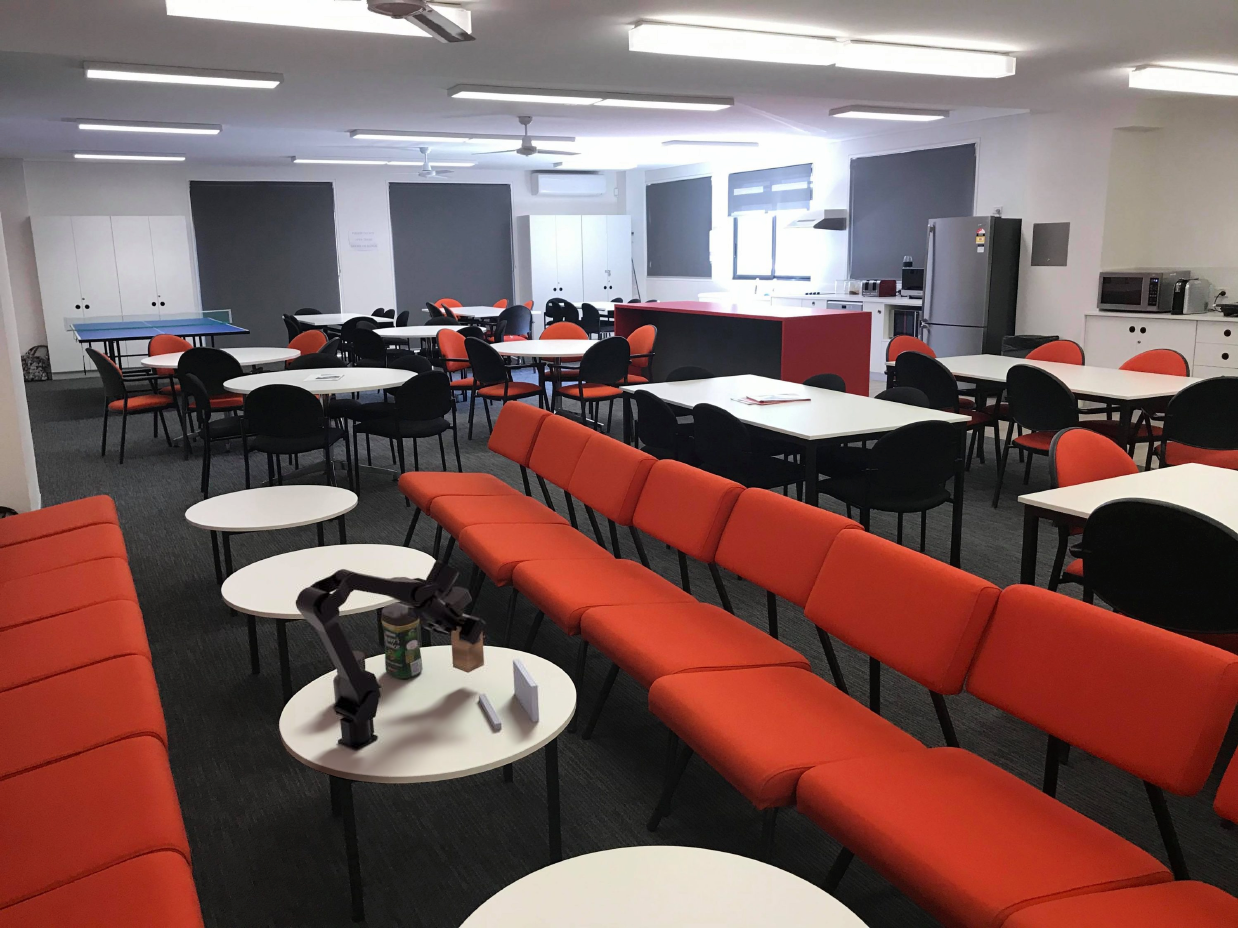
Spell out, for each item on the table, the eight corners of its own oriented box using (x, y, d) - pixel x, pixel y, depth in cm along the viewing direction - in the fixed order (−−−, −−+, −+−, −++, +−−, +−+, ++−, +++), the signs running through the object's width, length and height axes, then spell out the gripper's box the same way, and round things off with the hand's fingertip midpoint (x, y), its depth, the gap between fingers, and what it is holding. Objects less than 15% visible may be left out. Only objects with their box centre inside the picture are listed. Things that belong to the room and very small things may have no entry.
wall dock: (495, 729, 214) (493, 693, 212) (479, 699, 228) (476, 665, 226) (539, 720, 218) (537, 685, 216) (520, 691, 232) (518, 658, 230)
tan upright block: (468, 672, 232) (464, 621, 229) (453, 667, 235) (449, 616, 232) (484, 664, 236) (481, 614, 233) (469, 659, 239) (466, 609, 236)
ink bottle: (381, 697, 231) (377, 652, 228) (356, 713, 223) (352, 667, 221) (351, 690, 235) (347, 646, 233) (326, 705, 228) (321, 660, 225)
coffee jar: (380, 672, 245) (374, 606, 241) (405, 662, 251) (400, 597, 246) (403, 682, 239) (397, 614, 234) (428, 672, 244) (423, 605, 240)
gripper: (477, 588, 222) (512, 617, 232) (425, 573, 233) (461, 602, 244) (454, 630, 217) (491, 658, 228) (403, 612, 229) (440, 640, 239)
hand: (471, 637), depth 235 cm, fingers closed on tan upright block, 5 cm apart
